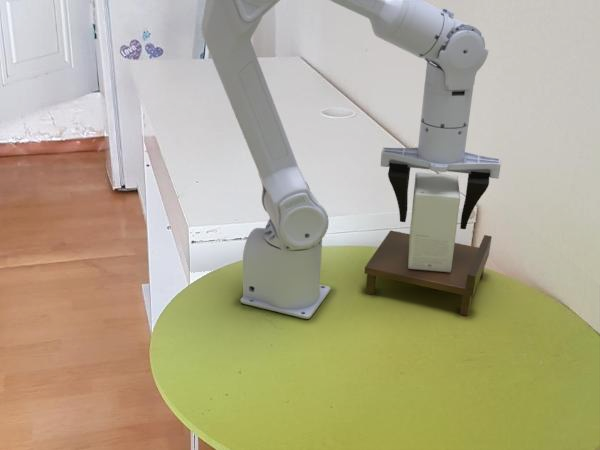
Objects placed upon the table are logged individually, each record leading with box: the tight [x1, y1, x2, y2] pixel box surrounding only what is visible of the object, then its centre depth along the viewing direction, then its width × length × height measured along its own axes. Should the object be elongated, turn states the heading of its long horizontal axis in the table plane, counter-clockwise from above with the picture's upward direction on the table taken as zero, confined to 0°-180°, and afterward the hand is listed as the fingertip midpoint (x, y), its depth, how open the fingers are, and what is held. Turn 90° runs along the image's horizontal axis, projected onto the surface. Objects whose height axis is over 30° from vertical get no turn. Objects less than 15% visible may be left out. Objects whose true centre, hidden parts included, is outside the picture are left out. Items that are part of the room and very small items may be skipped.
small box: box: [408, 171, 461, 272], centre depth 97 cm, size 8×6×10 cm
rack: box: [363, 230, 493, 317], centre depth 100 cm, size 14×12×6 cm
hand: (432, 222), depth 97 cm, fingers open, 7 cm apart
